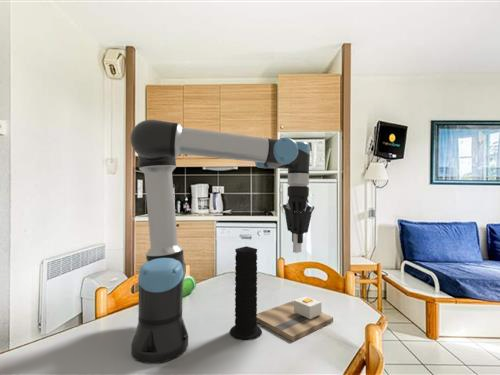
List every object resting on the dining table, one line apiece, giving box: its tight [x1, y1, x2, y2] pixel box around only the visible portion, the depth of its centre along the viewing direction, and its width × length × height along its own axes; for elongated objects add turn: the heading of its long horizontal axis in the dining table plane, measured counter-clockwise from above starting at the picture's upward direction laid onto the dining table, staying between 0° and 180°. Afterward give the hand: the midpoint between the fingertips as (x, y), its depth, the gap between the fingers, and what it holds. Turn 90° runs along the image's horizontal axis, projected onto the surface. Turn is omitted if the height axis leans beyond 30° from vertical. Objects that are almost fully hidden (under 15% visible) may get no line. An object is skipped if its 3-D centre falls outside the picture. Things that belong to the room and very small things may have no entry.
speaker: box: [182, 275, 197, 299], centre depth 114 cm, size 18×7×8 cm, turn 155°
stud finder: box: [293, 295, 322, 319], centre depth 96 cm, size 6×7×4 cm
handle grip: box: [229, 246, 263, 341], centre depth 87 cm, size 10×26×10 cm
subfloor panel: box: [256, 300, 334, 342], centre depth 94 cm, size 20×18×2 cm
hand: (297, 252), depth 99 cm, fingers closed
